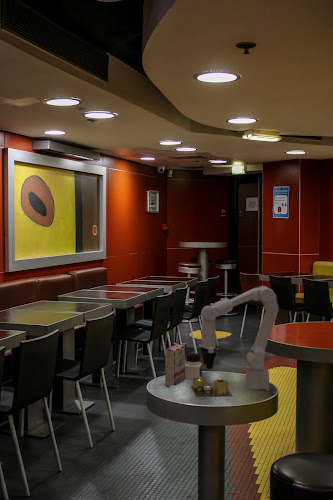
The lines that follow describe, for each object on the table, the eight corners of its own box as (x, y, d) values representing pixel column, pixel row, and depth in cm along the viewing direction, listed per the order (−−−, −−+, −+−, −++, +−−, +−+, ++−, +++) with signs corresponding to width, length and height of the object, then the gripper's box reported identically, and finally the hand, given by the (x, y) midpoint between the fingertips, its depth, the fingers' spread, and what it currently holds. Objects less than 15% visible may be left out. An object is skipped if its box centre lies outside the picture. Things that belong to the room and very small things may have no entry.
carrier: (225, 387, 253) (225, 373, 252) (233, 398, 237) (233, 383, 236) (190, 388, 251) (190, 374, 251) (196, 399, 235) (196, 384, 235)
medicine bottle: (199, 382, 261) (200, 355, 261) (184, 381, 263) (184, 354, 262) (202, 378, 268) (202, 352, 268) (186, 377, 270) (186, 351, 269)
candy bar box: (175, 380, 264) (175, 344, 263) (185, 382, 262) (185, 345, 261) (164, 386, 254) (164, 348, 253) (174, 388, 251) (175, 350, 251)
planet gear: (226, 391, 244) (226, 379, 244) (229, 395, 238) (229, 382, 238) (212, 391, 243) (212, 379, 243) (215, 395, 238) (215, 383, 237)
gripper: (196, 331, 256) (196, 362, 256) (201, 337, 241) (201, 370, 242) (212, 331, 256) (212, 362, 257) (218, 337, 242) (218, 370, 243)
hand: (208, 366), depth 249 cm, fingers open, 7 cm apart
